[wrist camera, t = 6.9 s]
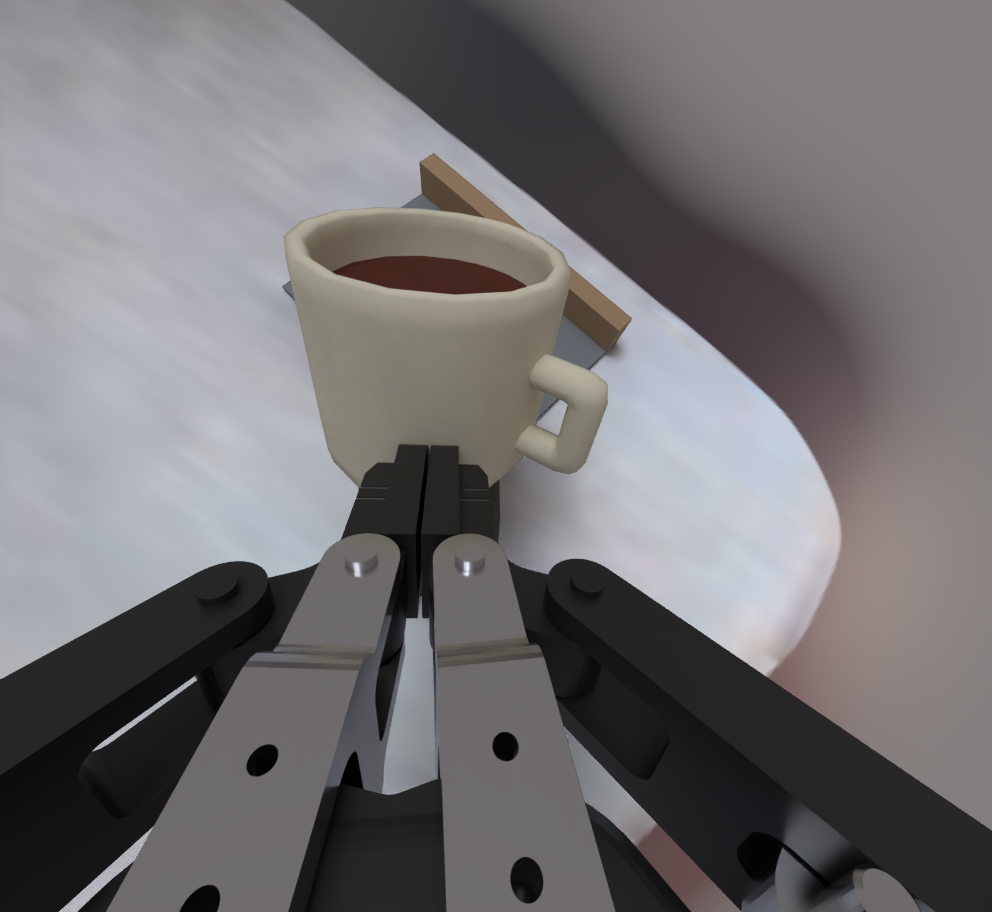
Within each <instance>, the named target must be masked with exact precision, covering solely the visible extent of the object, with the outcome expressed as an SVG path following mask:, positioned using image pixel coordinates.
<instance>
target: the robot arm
mask: <svg viewBox="0 0 992 912" xmlns="http://www.w3.org/2000/svg"><path fill="white" fill-rule="evenodd" d="M421 578H422V618H429V636H430V644H431V647H432V649H433V684H434V722H435V771H436V780H433V781H430V782H428V783H425V784H422V785H420V786H417V787H414V788H412V789H409V790H406V791H404V792H401V793H398V794H394V795H385V794H382V788H383V777H384V762H385V754H386V748H387V742H388V737H389V732H390V727H391V722H392V717H393V712H394V707H395V701H396V696H397V691H398V686H399V681H400V676H401V671H402V666H403V661H404V656H405V637H404V633H405V625H406V618H418V609H419V598H420V588H421ZM194 676H195V677H196V679H197V681H195V682H194V683H193V684H191V685H190V686H189V687H187V688H186V689H184V690H183V691H182V692H180V693H179V694H177V695H176V696H175V697H173V698H172V699H171V700H169V701H168V702H166V703H165V704H164V705H162V706H161V707H160V708H158V709H157V710H155V711H154V712H153V713H151V714H150V715H148V716H147V717H146V718H144V719H143V720H142V721H140V722H139V723H137V724H136V725H135V726H133V727H132V728H130V729H129V730H128V731H126V732H125V733H124V734H122V735H121V736H119V737H118V738H117V739H115V740H114V741H112V742H111V743H109V744H108V745H106V746H104V747H103V748H101V749H98V750H96V751H93V750H94V749H95V748H96V747H97V746H98V745H99V744H100V743H102V742H103V741H104V740H106V739H107V738H108V737H110V736H111V735H113V734H114V733H115V732H117V731H118V730H120V729H121V728H122V727H124V726H125V725H127V724H128V723H129V722H131V721H132V720H134V719H135V718H136V717H138V716H139V715H141V714H142V713H143V712H145V711H146V710H148V709H149V708H150V707H152V706H153V705H155V704H156V703H157V702H159V701H160V700H162V699H163V698H164V697H166V696H167V695H169V694H170V693H171V692H173V691H174V690H176V689H177V688H178V687H180V686H181V685H183V684H184V683H185V682H187V681H188V680H190V679H191V678H193V677H194ZM563 726H564V727H565V728H566V729H567V730H568V731H569V732H570V733H571V734H572V735H573V736H574V737H575V738H576V739H577V740H578V741H579V742H580V743H581V744H582V745H583V747H584V748H585V749H586V750H587V751H588V752H589V753H590V754H591V755H592V756H593V757H594V758H595V759H596V760H597V761H598V762H599V763H600V764H601V765H602V766H603V767H604V768H605V769H606V771H607V772H608V773H609V774H610V775H611V776H612V777H613V778H614V779H615V780H616V781H617V782H618V783H619V784H620V785H621V786H622V787H623V788H624V789H625V790H626V791H627V792H628V793H629V795H630V796H631V797H632V798H633V799H634V800H635V801H636V802H637V803H638V804H639V805H640V806H641V807H642V808H643V809H644V810H645V811H646V812H647V813H648V814H649V815H650V816H651V818H652V819H653V820H654V821H655V822H656V823H657V824H658V825H659V826H660V827H661V828H662V829H663V830H664V831H665V832H666V833H667V834H668V835H669V836H670V837H671V838H672V839H673V840H674V841H675V843H676V844H677V845H678V846H679V847H680V848H681V849H682V850H683V851H684V852H685V853H686V854H687V855H688V856H689V857H690V858H691V859H692V860H693V861H694V862H695V863H696V864H697V865H698V867H700V869H701V870H702V871H703V872H704V873H705V874H706V875H707V876H708V877H709V878H710V879H711V880H712V881H713V882H714V883H715V884H716V885H717V886H718V887H719V888H720V889H721V891H722V892H723V893H724V894H725V895H726V896H727V897H728V898H729V899H730V900H731V901H732V902H733V903H734V904H735V905H736V906H737V907H738V908H739V909H740V910H741V911H742V912H992V831H991V830H990V829H989V828H987V827H986V826H984V825H983V824H981V823H980V822H978V821H977V820H975V819H974V818H973V817H971V816H969V815H968V814H967V813H965V812H964V811H962V810H961V809H959V808H958V807H956V806H955V805H953V804H952V803H951V802H949V801H947V800H946V799H944V798H943V797H942V796H940V795H939V794H937V793H936V792H934V791H933V790H931V789H930V788H929V787H927V786H926V785H924V784H923V783H921V782H920V781H918V780H917V779H915V778H914V777H912V776H911V775H909V774H908V773H906V772H905V771H904V770H902V769H901V768H899V767H898V766H896V765H895V764H893V763H892V762H890V761H889V760H887V759H886V758H884V757H883V756H881V755H880V754H879V753H877V752H876V751H874V750H873V749H871V748H870V747H868V746H867V745H865V744H864V743H863V742H861V741H860V740H858V739H857V738H855V737H854V736H852V735H851V734H849V733H848V732H846V731H845V730H843V729H842V728H841V727H839V726H838V725H836V724H835V723H833V722H831V721H830V720H829V719H827V718H826V717H824V716H823V715H822V714H820V713H818V712H817V711H816V710H814V709H813V708H811V707H810V706H808V705H807V704H805V703H804V702H802V701H801V700H799V699H798V698H797V697H795V696H794V695H792V694H791V693H789V692H788V691H786V690H785V689H783V688H782V687H780V686H779V685H778V684H776V683H774V682H773V681H772V680H770V679H769V678H767V677H766V676H764V675H763V674H761V673H760V672H758V671H757V670H756V669H754V668H753V667H751V666H750V665H748V664H747V663H745V662H744V661H742V660H741V659H739V658H738V657H736V656H735V655H734V654H732V653H731V652H729V651H728V650H726V649H725V648H723V647H722V646H720V645H719V644H717V643H716V642H714V641H713V640H712V639H710V638H709V637H707V636H706V635H704V634H703V633H701V632H700V631H698V630H697V629H695V628H694V627H693V626H691V625H690V624H688V623H687V622H685V621H684V620H682V619H681V618H679V617H678V616H676V615H675V614H673V613H672V612H671V611H669V610H668V609H666V608H665V607H663V606H662V605H660V604H659V603H657V602H656V601H654V600H653V599H651V598H650V597H649V596H647V595H646V594H644V593H643V592H641V591H640V590H638V589H637V588H635V587H634V586H632V585H631V584H629V583H628V582H627V581H625V580H624V579H622V578H621V577H619V576H618V575H616V574H615V573H613V572H612V571H610V570H609V569H607V568H606V567H604V566H602V565H600V564H598V563H596V562H593V561H590V560H585V559H569V560H564V561H562V562H559V563H558V564H556V565H555V566H554V567H553V568H552V569H551V570H550V572H549V574H548V575H547V574H543V573H539V572H535V571H531V570H528V569H525V568H522V567H519V566H517V565H515V564H513V563H512V562H510V561H509V560H508V559H507V557H506V554H505V551H504V550H503V548H502V547H501V546H500V545H499V544H498V543H497V542H496V539H495V531H494V524H493V516H492V508H491V501H490V492H489V484H488V476H487V474H486V473H485V472H484V471H483V470H482V469H481V467H480V466H479V465H469V464H459V446H448V445H431V449H430V458H429V467H428V446H427V445H414V444H399V446H398V449H397V453H396V457H395V461H394V463H384V462H377V463H376V464H375V465H374V466H373V467H372V468H370V469H369V470H368V471H367V472H366V473H365V475H364V477H363V480H362V483H361V486H360V489H359V491H358V494H357V499H356V500H355V502H354V505H353V508H352V511H351V513H350V516H349V519H348V522H347V524H346V527H345V530H344V533H343V536H342V538H341V540H340V541H338V542H336V543H335V544H333V545H332V546H331V547H330V548H329V549H328V550H327V551H326V552H325V554H324V555H323V557H322V559H321V561H320V562H319V563H317V564H315V565H313V566H311V567H308V568H306V569H303V570H299V571H296V572H291V573H287V574H283V575H279V576H275V577H270V578H268V576H267V574H266V572H265V570H264V569H263V568H262V567H260V566H258V565H257V564H254V563H251V562H244V561H235V562H227V563H222V564H218V565H215V566H212V567H209V568H207V569H204V570H202V571H200V572H198V573H196V574H194V575H192V576H191V577H189V578H187V579H185V580H183V581H181V582H179V583H178V584H176V585H174V586H172V587H170V588H168V589H167V590H165V591H163V592H161V593H159V594H157V595H155V596H154V597H152V598H150V599H148V600H146V601H144V602H143V603H141V604H139V605H137V606H135V607H133V608H131V609H130V610H128V611H126V612H124V613H122V614H120V615H119V616H117V617H115V618H113V619H111V620H109V621H107V622H106V623H104V624H102V625H100V626H98V627H96V628H95V629H93V630H91V631H89V632H87V633H85V634H83V635H82V636H80V637H78V638H76V639H74V640H72V641H71V642H69V643H67V644H65V645H63V646H61V647H59V648H58V649H56V650H54V651H52V652H50V653H48V654H47V655H45V656H43V657H41V658H39V659H37V660H35V661H34V662H32V663H30V664H28V665H26V666H24V667H23V668H21V669H19V670H17V671H15V672H13V673H11V674H10V675H8V676H6V677H4V678H2V679H0V912H59V911H60V910H61V909H62V908H63V907H64V906H66V905H67V904H68V903H69V902H70V901H71V900H72V899H73V898H74V897H76V896H77V895H78V894H79V893H80V892H81V891H82V890H83V889H84V888H85V887H87V886H88V885H89V884H90V883H91V882H92V881H93V880H94V879H95V878H97V877H98V876H99V875H100V874H101V873H102V872H103V871H104V870H105V869H107V868H108V867H109V866H110V865H111V864H112V863H113V862H114V861H115V860H117V859H118V858H119V857H120V856H121V855H122V854H123V853H124V852H125V851H126V850H128V849H129V848H130V847H131V846H132V845H133V844H134V843H135V842H136V841H138V840H139V839H140V838H141V837H142V836H143V835H144V834H145V833H146V832H148V831H149V830H150V829H151V828H152V827H153V826H154V827H153V829H152V831H151V832H150V834H149V836H148V838H147V840H146V841H145V843H144V845H143V847H142V848H141V850H140V852H139V854H138V856H137V857H136V859H135V861H134V862H132V863H131V864H130V865H129V866H127V867H126V868H125V869H124V870H123V871H121V872H120V873H119V874H118V875H117V876H115V877H114V878H113V879H112V880H111V881H110V882H108V883H107V884H106V885H105V886H104V887H103V888H102V889H101V890H100V891H99V892H98V893H96V894H95V895H94V896H93V897H92V898H91V899H90V900H89V901H88V902H87V903H86V904H85V905H84V906H83V907H82V908H81V909H80V910H79V911H78V912H691V911H690V910H689V909H688V908H687V907H686V905H685V904H684V903H683V902H682V901H681V899H680V898H679V897H678V896H677V895H676V894H675V892H674V891H673V890H672V889H671V888H670V886H669V885H668V884H667V883H666V882H665V881H664V880H663V878H662V877H661V876H660V875H659V874H658V873H657V871H656V870H655V869H654V868H653V866H652V865H651V864H650V863H649V862H648V860H647V859H646V858H645V857H644V856H643V855H642V853H641V852H640V851H639V850H638V849H637V848H636V846H635V845H634V844H633V843H632V842H631V841H630V840H629V839H628V837H627V836H626V835H625V834H624V833H623V832H622V831H621V830H619V829H618V828H617V827H616V826H615V825H614V824H613V823H612V822H611V821H610V820H609V819H608V818H606V817H605V816H604V815H602V814H601V813H600V812H598V811H597V810H596V809H594V808H593V807H592V806H590V805H589V804H587V803H585V802H584V798H583V794H582V791H581V787H580V784H579V780H578V777H577V773H576V769H575V766H574V762H573V759H572V755H571V752H570V748H569V744H568V741H567V737H566V734H565V730H564V727H563ZM92 751H93V752H92Z"/></svg>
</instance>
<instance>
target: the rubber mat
mask: <svg viewBox="0 0 992 912" xmlns="http://www.w3.org/2000/svg"><path fill="white" fill-rule="evenodd" d="M419 163H420V175H421V187H422V194H421V195H419V196H418V197H416V198H415V199H413V200H412V201H410V202H408V203H407V204H405V205H404V206H402V207H401V208H421V209H429V210H438V211H447V212H456V213H462V214H467V215H472V216H478V217H483V218H487V219H491V220H495V221H499V222H503V223H507V224H509V225H512V226H515V227H518V228H521V229H524V228H523V227H522V226H521V225H520V224H518V223H517V222H516V221H515V220H514V219H512V218H511V217H510V216H509V215H508V214H506V213H505V212H504V211H503V210H502V209H500V208H499V207H498V206H497V205H496V204H494V203H493V202H492V201H491V200H490V199H488V198H487V197H486V196H485V195H484V194H482V193H481V192H480V191H479V190H478V189H476V188H475V187H474V186H473V185H472V184H470V183H469V182H468V181H467V180H466V179H464V178H463V177H462V176H461V175H460V174H458V173H457V172H456V171H455V170H454V169H452V168H451V167H450V166H449V165H448V164H446V163H445V162H444V161H443V160H442V159H440V158H439V157H438V156H437V155H436V154H434V153H433V154H432V155H430V156H428V157H427V158H425V159H424V160H422V161H421V162H419ZM524 230H526V229H524ZM526 231H527V230H526ZM569 268H570V280H569V290H568V295H567V299H566V303H565V307H564V311H563V314H562V318H561V322H560V326H559V330H558V334H557V338H556V343H555V347H554V352H553V356H555V357H558V358H560V359H563V360H565V361H568V362H570V363H572V364H575V365H577V366H580V367H582V368H585V369H587V370H588V369H589V368H590V367H591V366H592V365H593V364H594V363H595V362H596V361H598V360H599V359H600V358H601V357H602V356H603V355H604V354H605V353H606V352H607V351H608V350H609V349H610V348H611V347H612V346H613V345H614V344H615V343H616V342H617V340H618V339H619V337H620V336H621V334H622V333H623V331H624V330H625V329H626V327H627V326H628V324H629V323H630V321H631V320H632V318H631V317H630V316H629V315H627V314H626V313H625V312H624V311H623V310H621V309H620V308H619V307H618V306H617V305H615V304H614V303H613V302H612V301H611V300H609V299H608V298H607V297H606V296H605V295H603V294H602V293H601V292H600V291H599V290H597V289H596V288H595V287H594V286H593V285H591V284H590V283H589V282H588V281H587V280H585V279H584V278H583V277H582V276H581V275H579V274H578V273H577V272H576V271H575V270H573V269H572V268H571V267H570V266H569ZM282 287H283V289H284V290H285V291H286V292H287V293H288V294H289V295H290V296H291V297H292V298H293V299H294V300H295V298H294V294H293V289H292V284H291V281H289V282H288V283H286V284H285V285H283V286H282ZM556 400H558V398H556V397H553V396H551V395H549V394H546V393H544V395H543V399H542V403H541V406H540V410H539V414H538V418H539V417H540V416H541V415H542V414H543V413H544V412H545V411H546V410H547V409H548V408H549V407H550V406H551V405H552V404H553V403H554V402H555V401H556ZM538 418H537V419H538Z"/></svg>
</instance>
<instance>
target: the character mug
mask: <svg viewBox="0 0 992 912" xmlns="http://www.w3.org/2000/svg"><path fill="white" fill-rule="evenodd" d="M283 238H284V246H285V254H286V262H287V266H288V271H289V275H290V280H291V284H292V289H293V294H294V298H295V303H296V307H297V312H298V317H299V321H300V326H301V330H302V335H303V339H304V344H305V349H306V353H307V358H308V362H309V367H310V372H311V376H312V381H313V385H314V390H315V394H316V399H317V404H318V408H319V413H320V417H321V422H322V426H323V430H324V434H325V439H326V443H327V447H328V450H329V452H330V454H331V457H332V459H333V461H334V463H335V464H336V465H337V466H338V467H339V468H340V469H341V470H342V471H343V472H344V473H345V474H346V475H347V476H348V477H349V478H350V479H351V480H352V481H353V482H354V483H355V484H356V485H357V486H358V487H359V489H360V486H361V483H362V480H363V477H364V475H365V473H366V472H367V471H368V470H369V469H370V468H372V467H373V466H374V465H375V464H376V463H377V462H384V463H394V461H395V457H396V453H397V449H398V446H399V444H414V445H427V446H428V467H429V458H430V449H431V445H448V446H459V464H469V465H479V466H480V467H481V469H482V470H483V471H484V472H485V473H486V474H487V476H488V484H489V492H490V501H491V508H492V516H493V524H494V531H495V539H496V542H497V543H498V536H499V522H500V501H499V479H500V478H502V477H503V476H504V475H505V474H506V473H508V472H509V471H510V470H511V469H512V468H513V467H514V466H515V465H516V464H517V463H518V462H519V461H520V460H521V459H522V457H523V455H524V456H526V457H528V458H530V459H532V460H534V461H536V462H538V463H540V464H542V465H544V466H546V467H548V468H550V469H552V470H554V471H557V472H561V473H566V474H570V473H575V472H577V471H578V470H579V469H580V468H581V467H582V466H583V465H584V464H585V462H586V460H587V457H588V454H589V452H590V449H591V446H592V444H593V441H594V439H595V436H596V433H597V431H598V428H599V425H600V423H601V420H602V417H603V415H604V412H605V410H606V407H607V404H608V386H607V383H606V382H605V381H604V380H603V379H601V378H600V377H599V376H598V375H596V374H595V373H594V372H592V371H590V370H587V369H585V368H582V367H580V366H577V365H575V364H572V363H570V362H568V361H565V360H563V359H560V358H558V357H555V356H553V352H554V347H555V343H556V338H557V334H558V330H559V326H560V322H561V318H562V314H563V311H564V307H565V303H566V299H567V295H568V290H569V280H570V268H569V265H568V263H567V261H566V259H565V256H564V254H563V252H561V251H560V250H559V249H557V248H556V247H554V246H553V245H552V244H550V243H549V242H548V241H546V240H545V239H543V238H542V237H539V236H537V235H535V234H533V233H530V232H528V231H526V230H524V229H521V228H518V227H515V226H512V225H509V224H507V223H503V222H499V221H495V220H491V219H487V218H483V217H478V216H472V215H467V214H462V213H456V212H447V211H438V210H429V209H421V208H381V207H375V208H364V209H352V210H341V211H333V212H330V213H326V214H323V215H319V216H316V217H312V218H309V219H306V220H302V221H301V222H299V223H298V224H297V225H296V226H295V227H294V228H292V229H291V230H290V231H289V232H288V233H287V234H286V235H284V236H283ZM544 393H546V394H549V395H551V396H553V397H556V398H558V399H560V400H562V401H564V402H565V403H566V404H568V406H567V410H566V413H565V416H564V420H563V423H562V426H561V430H560V433H559V436H558V435H556V434H554V433H551V432H549V431H547V430H545V429H543V428H541V427H539V426H537V425H536V422H537V418H538V414H539V410H540V406H541V403H542V399H543V395H544ZM420 596H422V578H421V588H420Z"/></svg>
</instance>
